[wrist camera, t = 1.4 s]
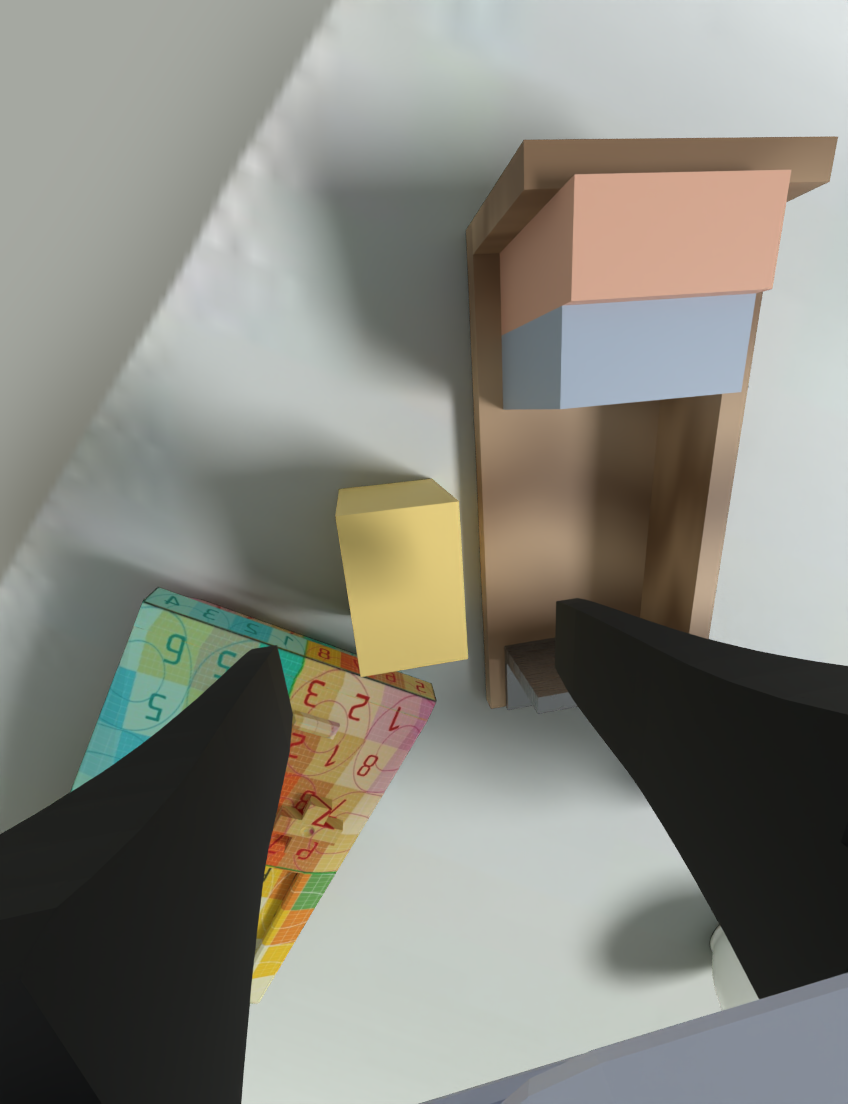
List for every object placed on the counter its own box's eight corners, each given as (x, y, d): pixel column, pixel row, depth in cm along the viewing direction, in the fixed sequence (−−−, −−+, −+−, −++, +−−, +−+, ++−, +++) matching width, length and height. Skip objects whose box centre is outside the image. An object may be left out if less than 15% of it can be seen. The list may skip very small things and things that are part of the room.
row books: (639, 396, 18) (755, 391, 13) (503, 409, 17) (568, 409, 12) (651, 246, 16) (791, 169, 11) (499, 253, 15) (574, 174, 10)
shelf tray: (641, 670, 24) (724, 744, 18) (486, 699, 23) (527, 786, 17) (685, 221, 17) (838, 136, 12) (466, 230, 16) (523, 139, 10)
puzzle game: (441, 715, 17) (255, 1027, 21) (422, 653, 21) (271, 921, 26) (129, 613, 14) (-18, 1006, 18) (183, 563, 18) (54, 889, 22)
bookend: (620, 684, 23) (673, 739, 19) (505, 706, 22) (538, 767, 18) (625, 625, 22) (682, 671, 18) (504, 645, 21) (538, 697, 17)
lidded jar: (812, 867, 33) (980, 1033, 24) (794, 951, 36) (935, 1122, 28) (686, 907, 32) (814, 1097, 23) (680, 990, 35) (789, 1181, 27)
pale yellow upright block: (431, 478, 19) (458, 501, 14) (441, 604, 21) (468, 661, 16) (339, 488, 18) (335, 516, 13) (358, 616, 20) (361, 679, 15)
